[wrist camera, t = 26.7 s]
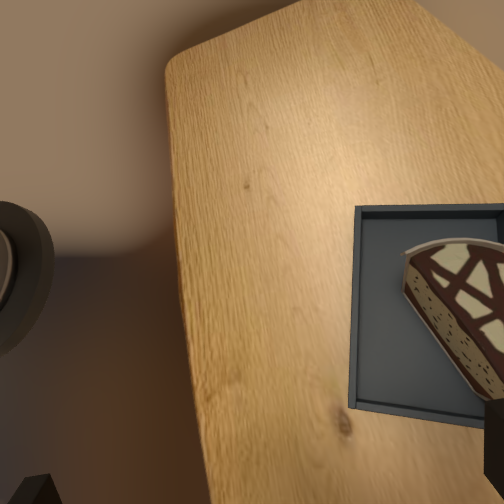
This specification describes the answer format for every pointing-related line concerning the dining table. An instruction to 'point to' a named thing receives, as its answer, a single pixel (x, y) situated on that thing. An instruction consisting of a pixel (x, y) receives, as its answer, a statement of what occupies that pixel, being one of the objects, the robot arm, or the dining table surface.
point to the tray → (407, 314)
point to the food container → (462, 305)
